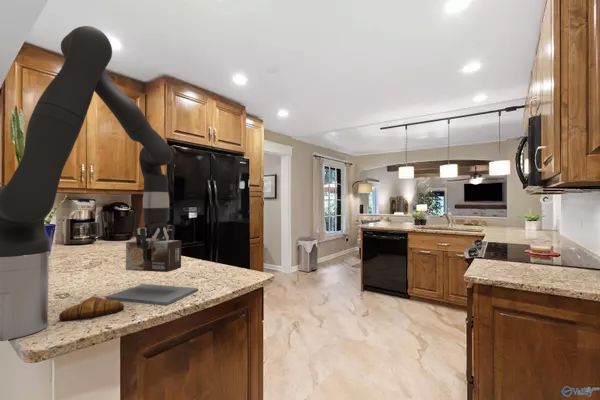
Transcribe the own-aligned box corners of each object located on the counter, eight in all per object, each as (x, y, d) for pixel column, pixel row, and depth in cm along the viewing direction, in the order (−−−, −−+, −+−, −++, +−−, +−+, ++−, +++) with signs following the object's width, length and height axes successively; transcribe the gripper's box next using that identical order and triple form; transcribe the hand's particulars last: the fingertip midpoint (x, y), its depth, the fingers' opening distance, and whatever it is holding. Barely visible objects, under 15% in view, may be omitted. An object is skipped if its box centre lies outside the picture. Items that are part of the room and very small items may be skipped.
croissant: (124, 307, 79) (124, 288, 79) (123, 314, 73) (123, 295, 73) (62, 316, 72) (62, 297, 72) (55, 326, 66) (55, 305, 66)
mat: (166, 305, 79) (166, 302, 79) (105, 299, 85) (105, 296, 85) (198, 290, 92) (198, 288, 92) (143, 286, 98) (143, 283, 98)
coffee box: (141, 266, 95) (181, 269, 91) (124, 270, 89) (167, 273, 84) (141, 239, 95) (182, 240, 91) (125, 241, 89) (167, 242, 85)
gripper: (147, 206, 82) (148, 264, 82) (181, 206, 96) (181, 255, 96) (127, 207, 84) (127, 263, 84) (163, 206, 98) (163, 255, 98)
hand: (156, 259), depth 90 cm, fingers closed on coffee box, 6 cm apart
